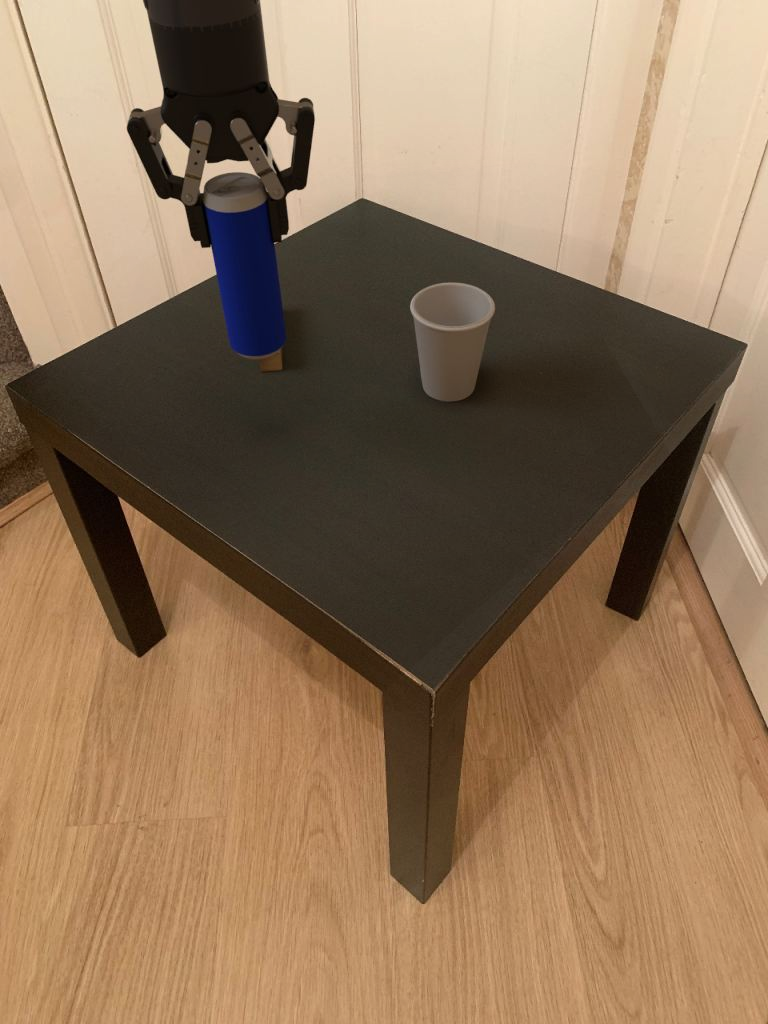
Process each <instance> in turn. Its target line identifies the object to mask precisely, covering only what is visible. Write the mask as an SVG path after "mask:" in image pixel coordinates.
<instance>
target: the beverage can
mask: <svg viewBox="0 0 768 1024" xmlns="http://www.w3.org/2000/svg"><path fill="white" fill-rule="evenodd" d="M202 193H203V199H202V200H203V206H204V211H205V216H206V221H207V227H208V232H209V237H210V242H211V247H210V248H211V253H212V257H213V258H212V259H213V263H214V268H215V273H216V278H217V285H218V289H219V294H220V300H221V304H222V305H221V306H222V310H223V316H224V321H225V327H226V331H227V336H228V340H229V341H228V342H229V346H230V347H231V349H232V350H233V351H234V352H235V353H236V354H237V355H239V356H241V357H243V358H245V359H248V360H259V359H264V358H268V357H271V356H273V355H275V354H276V353H277V352H279V351H280V350H281V348H282V349H283V347H284V346H285V343H286V341H287V331H286V330H287V329H286V325H285V316H284V307H283V299H282V293H281V284H280V276H279V269H278V260H277V253H276V246H275V245H276V244H275V243H273V237H272V229H271V222H270V214H269V207H268V191H267V189H266V188H265V186H264V184H263V182H262V180H261V179H260V177H259V176H258V175H257V174H253V173H248V172H243V171H242V172H241V171H235V172H234V171H233V172H226V173H221V174H218V175H215V176H213V177H211V178H209V179H208V180H207V181H206V182H205V183H204V186H203V192H202Z"/></svg>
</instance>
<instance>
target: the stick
mask: <svg viewBox="0 0 768 1024" xmlns="http://www.w3.org/2000/svg"><path fill="white" fill-rule="evenodd" d="M258 362H259V367H260V368H259V369H260V372H261V373H263V372H277V371H283V370H284V369H283V367H284V366H283V347H282V348H281V350H280V351H279V352H277V353H276V354H275V355H273V356H271V357H268V358H264V359H258Z"/></svg>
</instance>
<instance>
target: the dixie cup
mask: <svg viewBox="0 0 768 1024" xmlns="http://www.w3.org/2000/svg"><path fill="white" fill-rule="evenodd" d="M409 305H410V306H409V307H410V308H409V309H410V313H411V314H412V318H413V324H414V332H415V339H416V340H415V341H416V347H417V355H418V362H419V371H420V378H421V385H422V389H423V391H424V392H425V394H426V395H427V396H429V397H431V398H432V399H434V400H437V401H440V402H458V401H461V400H462V401H463V400H464V399H466V398H468V397H470V396H472V394H473V392H475V387H476V384H477V381H478V380H477V379H478V375H479V370H480V366H481V362H482V358H483V354H484V349H485V346H486V341H487V336H488V334H489V333H488V332H489V329H490V323H491V319H492V318H493V316H494V314H495V311H496V304H495V302H494V300H493V298H492V297H491V296H490V295H489V293H488V292H486V291H484V290H483V289H481V288H480V287H477V286H474V285H472V284H469V283H468V284H467V283H463V282H441V283H435V284H432V285H429V286H427V287H425V288H422V289H421V290H419V291H418V292H417V293H415V295H414V296H413V297H412V299H411V301H410V304H409Z"/></svg>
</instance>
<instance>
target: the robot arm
mask: <svg viewBox="0 0 768 1024" xmlns="http://www.w3.org/2000/svg"><path fill="white" fill-rule="evenodd" d="M142 2H143V5H144V9H145V10H146V14H147V18H148V23H149V27H150V33H151V38H152V42H153V47H154V51H155V57H156V61H157V66H158V72H159V76H160V81H161V85H162V92H163V96H162V102H161V105H160V106H157V107H154V108H151V109H146V110H144V109H142V108H139V107H136V108H133V109H131V111H130V113H129V117H128V120H127V124H126V131H127V134H128V136H129V138H130V141H131V142H132V144H133V147H134V149H135V151H136V153H137V155H138V158H139V159H140V162H141V164H142V166H143V168H144V170H145V173H146V175H147V177H148V179H149V181H150V183H151V185H152V187H153V190H154V191H155V194H156V195H157V197H158V198H160V199H161V200H169V199H174V200H177V201H179V202H180V203H181V204H182V205H183V207H184V211H185V214H186V219H187V224H188V230H189V233H190V234H189V235H190V237H191V238H192V240H193V242H200V247H201V249H207V248H211V242H210V237H209V232H208V227H207V221H206V216H205V211H204V206H203V200H202V199H203V192H201V190H200V189H201V182H202V179H203V174H204V170H205V165H206V164H218V163H221V162H224V161H226V160H227V161H228V160H229V161H235V162H249V163H250V165H251V167H252V169H253V170H254V173H255V175H256V176H258V177H259V178H260V179H261V180H262V182H263V184H264V186H265V188H266V190H267V192H268V207H269V214H270V222H271V229H272V237H273V243H274V244H275V243H277V244H278V243H282V242H283V238H282V237H283V236H287V235H288V233H289V230H290V223H289V211H288V204H287V196H288V195H289V194H290V193H291V192H293V191H295V190H296V191H303V190H304V189H305V188H306V187H307V184H308V177H309V168H310V162H311V153H312V147H313V146H312V145H313V138H314V129H315V122H316V117H315V116H316V115H315V108H314V107H315V106H314V103H313V101H312V100H311V99H310V98H308V97H302V98H300V99H299V100H298V101H293V100H285V99H280V98H279V97H278V95H277V93H276V92H275V90H274V89H273V86H272V85H271V81H270V75H269V66H268V65H269V64H268V58H267V48H266V39H265V32H264V22H263V14H262V7H261V6H262V5H261V0H142ZM278 118H280V119H282V120H283V122H284V124H285V130H286V132H287V133H288V134H289V135H291V136H293V141H292V151H291V159H290V166H289V167H287V168H284V169H282V170H281V169H280V167H279V165H278V162H277V161H276V160H275V157H274V154H273V152H272V149H271V147H270V146H269V143H268V141H267V137H268V135H269V133H270V131H271V129H272V128H273V126H274V124H275V122H276V120H277V119H278ZM163 125H166V126H167V127H168V128H169V129H170V131H172V132H173V134H174V135H175V136H176V137H177V138H178V139H179V140H180V141H181V142H182V143H183V144H184V145H185V146H186V147H187V148H188V155H187V160H186V166H185V171H184V176H180V175H176V174H174V173H173V171H172V169H171V166H170V164H169V162H168V160H167V157H166V155H165V153H164V151H163V148H162V146H161V144H160V142H161V140H162V136H163Z"/></svg>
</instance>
